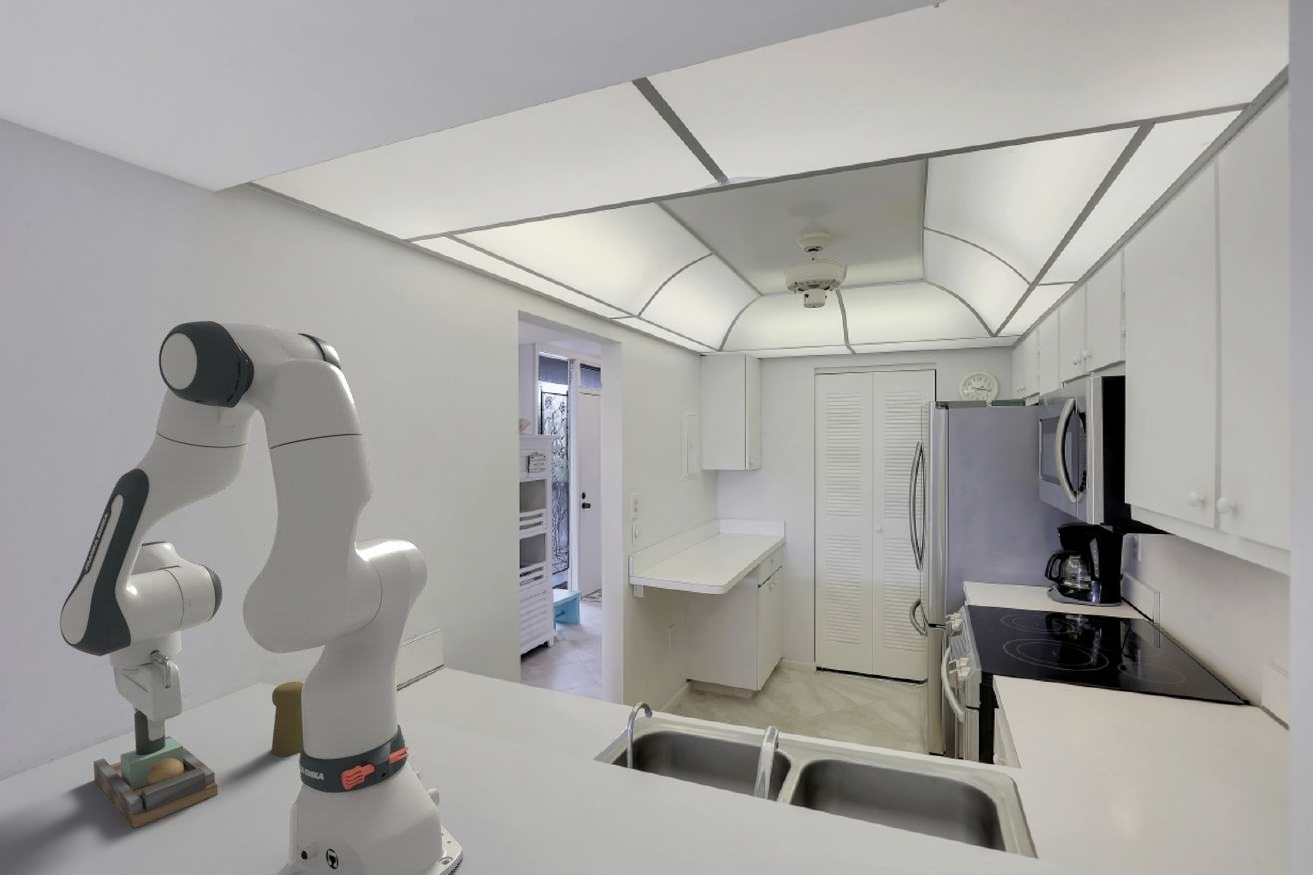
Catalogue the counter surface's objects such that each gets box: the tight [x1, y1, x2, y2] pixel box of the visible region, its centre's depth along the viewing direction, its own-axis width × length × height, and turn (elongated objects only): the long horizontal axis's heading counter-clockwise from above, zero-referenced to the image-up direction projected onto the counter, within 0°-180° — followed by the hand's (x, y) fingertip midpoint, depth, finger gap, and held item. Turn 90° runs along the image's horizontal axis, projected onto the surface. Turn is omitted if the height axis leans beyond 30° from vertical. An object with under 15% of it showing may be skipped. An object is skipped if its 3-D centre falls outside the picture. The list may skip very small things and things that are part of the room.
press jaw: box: [120, 711, 184, 790], centre depth 99 cm, size 5×7×10 cm
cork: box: [271, 681, 304, 757], centre depth 110 cm, size 6×6×11 cm
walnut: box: [147, 758, 184, 786], centre depth 95 cm, size 4×4×4 cm
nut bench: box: [93, 735, 219, 829], centre depth 99 cm, size 22×10×4 cm, turn 52°
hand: (150, 733), depth 99 cm, fingers closed on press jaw, 4 cm apart
